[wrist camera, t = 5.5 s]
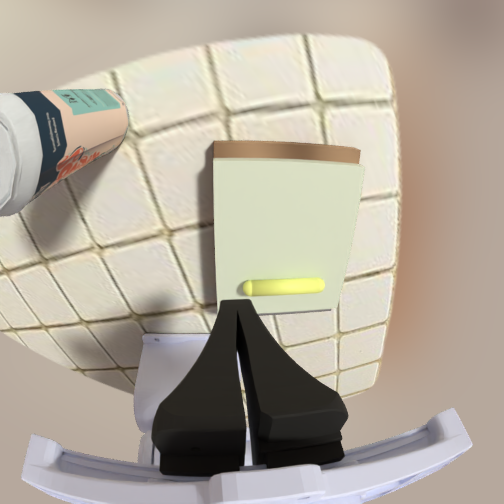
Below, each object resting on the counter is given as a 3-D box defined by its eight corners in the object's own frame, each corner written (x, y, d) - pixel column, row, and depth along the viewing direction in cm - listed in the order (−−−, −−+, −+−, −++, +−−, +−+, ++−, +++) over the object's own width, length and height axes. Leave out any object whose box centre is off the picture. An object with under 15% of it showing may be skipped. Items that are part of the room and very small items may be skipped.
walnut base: (218, 307, 25) (218, 315, 24) (214, 140, 18) (213, 142, 17) (327, 301, 26) (330, 308, 25) (354, 147, 19) (360, 150, 18)
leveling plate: (217, 311, 24) (218, 329, 22) (213, 158, 18) (212, 165, 16) (332, 305, 25) (340, 321, 23) (358, 163, 19) (373, 171, 17)
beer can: (69, 153, 17) (-45, 222, 7) (74, 89, 15) (-53, 105, 4) (127, 156, 18) (31, 233, 7) (135, 89, 16) (29, 86, 5)
